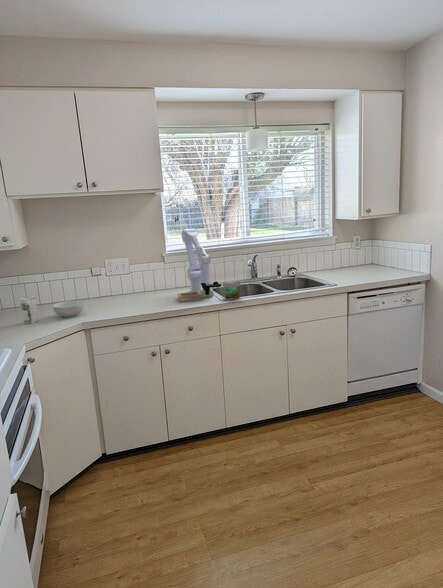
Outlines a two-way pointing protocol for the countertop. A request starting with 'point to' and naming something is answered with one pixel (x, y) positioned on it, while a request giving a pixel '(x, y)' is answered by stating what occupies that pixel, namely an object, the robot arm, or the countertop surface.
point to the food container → (232, 290)
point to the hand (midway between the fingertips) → (206, 294)
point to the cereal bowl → (68, 308)
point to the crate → (189, 296)
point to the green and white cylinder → (29, 309)
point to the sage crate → (205, 294)
